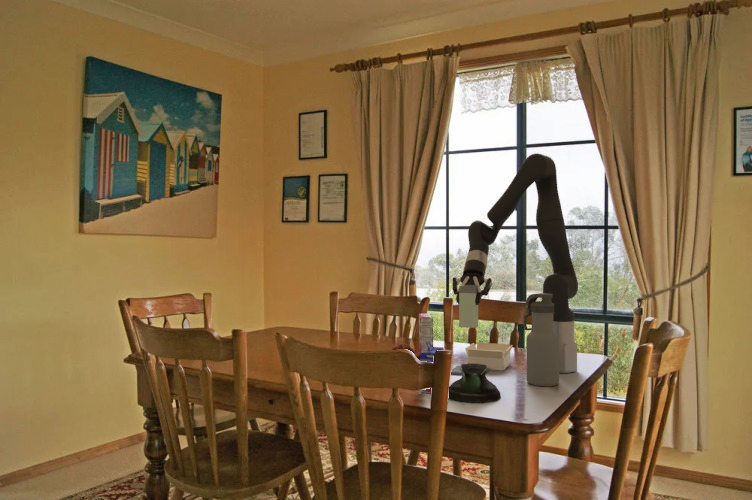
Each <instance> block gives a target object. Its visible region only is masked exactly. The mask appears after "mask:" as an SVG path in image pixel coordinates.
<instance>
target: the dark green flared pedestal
mask: <svg viewBox="0 0 752 500" xmlns="http://www.w3.org/2000/svg"><path fill="white" fill-rule="evenodd" d="M460 366H461V367H460V369H461V372H462V375H461V378H459V379H457V380H455V381H454V382H452V383H451V384H450V385H449V386H448V388H449V399H448V400H449V401H453V402H456V403H461V406H466V404H488V403H494V402H498V401H499V400H501V398H502V397H501V396H502V395H501V392H500V390H499V389H498V388H497V386H496V384H495V383H493V382H492V381H490V380H489V379H488V378H487V377H486V376H487V375H486V374H487V372H486V370H487V369H488V367H487V365H484V364H473V363H472V364H468V363H460Z"/></svg>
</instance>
